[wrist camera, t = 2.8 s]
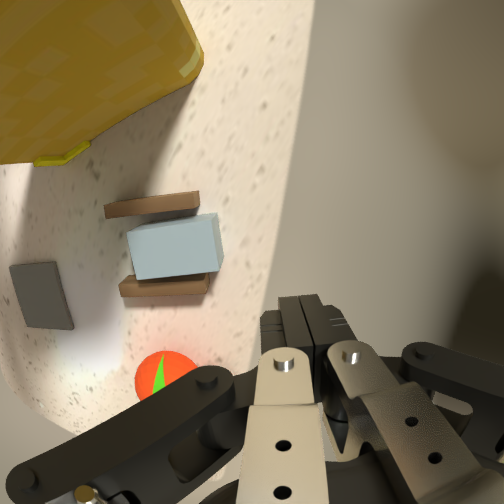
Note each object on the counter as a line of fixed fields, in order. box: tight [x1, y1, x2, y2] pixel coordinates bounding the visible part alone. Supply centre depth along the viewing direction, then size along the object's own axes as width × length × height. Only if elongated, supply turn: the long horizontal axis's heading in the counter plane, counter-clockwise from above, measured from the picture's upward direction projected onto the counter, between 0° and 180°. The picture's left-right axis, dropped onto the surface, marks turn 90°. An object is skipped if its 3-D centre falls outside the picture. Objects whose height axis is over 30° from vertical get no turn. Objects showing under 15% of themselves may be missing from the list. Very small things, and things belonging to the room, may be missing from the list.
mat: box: [9, 262, 74, 330], centre depth 28 cm, size 8×8×1 cm
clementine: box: [135, 351, 198, 401], centre depth 26 cm, size 8×7×7 cm
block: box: [126, 213, 224, 280], centre depth 25 cm, size 4×7×4 cm, turn 97°
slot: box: [104, 191, 210, 297], centre depth 25 cm, size 8×8×2 cm
